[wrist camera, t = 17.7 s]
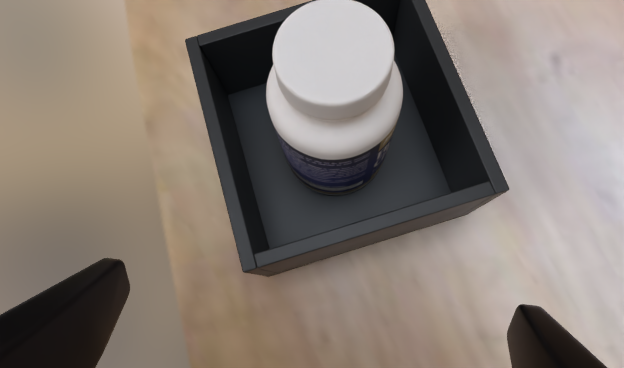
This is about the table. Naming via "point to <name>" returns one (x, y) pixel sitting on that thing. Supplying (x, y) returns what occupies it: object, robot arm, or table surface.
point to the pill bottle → (334, 94)
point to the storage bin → (390, 178)
